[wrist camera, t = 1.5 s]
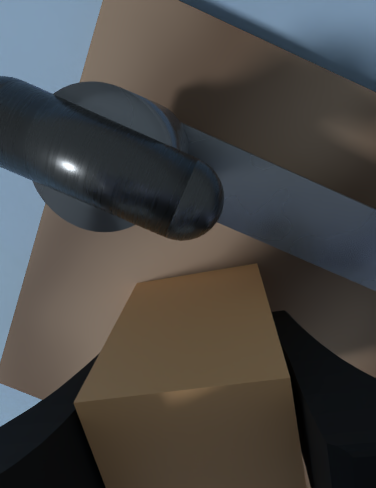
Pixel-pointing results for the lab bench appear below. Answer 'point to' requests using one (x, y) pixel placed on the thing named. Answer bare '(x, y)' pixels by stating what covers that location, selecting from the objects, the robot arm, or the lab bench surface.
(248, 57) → the crank board
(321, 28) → the lab bench surface
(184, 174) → the crank
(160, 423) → the stop block
